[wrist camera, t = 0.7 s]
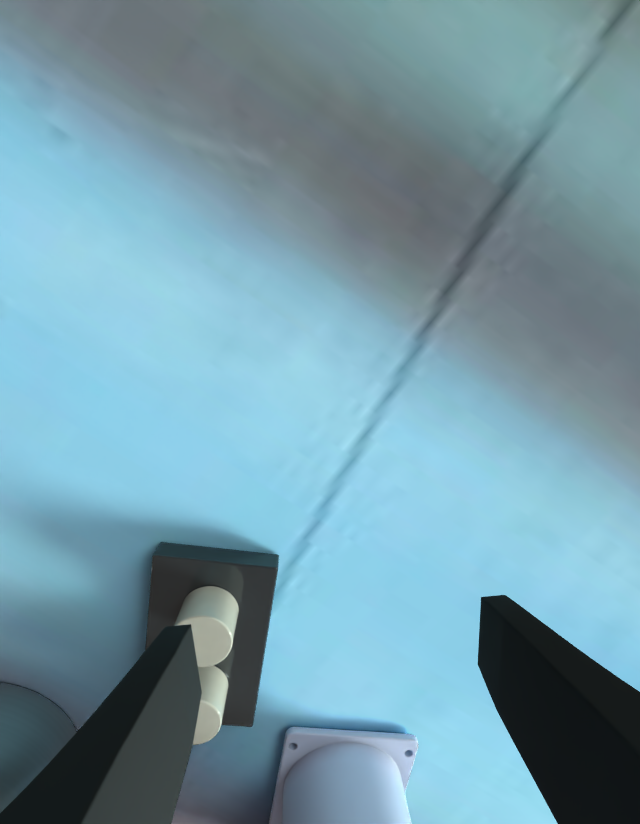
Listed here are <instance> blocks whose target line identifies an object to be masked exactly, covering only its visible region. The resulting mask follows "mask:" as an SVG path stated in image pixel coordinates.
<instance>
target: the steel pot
mask: <svg viewBox="0 0 640 824" xmlns="http://www.w3.org/2000/svg"><path fill="white" fill-rule="evenodd" d="M76 733H77V732H76V729H75V727H74V725H73V724H72V722H71V720H70V719H69V718H68V716H67V715H66V714H65V713H64V712H63V711H62V710H61V709H60V708H59V707H58V706H57V705H56V704H54V703H53V702H51V701H50V700H49V699H47V698H45V697H44V696H42V695H40V694H38V693H36V692H34V691H31V690H29V689H26V688H23V687H20V686H16V685H12V684H7V683H0V813H1V812H2V811H3V810H4V809H5V808H6V807H7V806H8V805H9V804H10V803H11V802H12V801H13V800H14V799H15V798H16V797H17V796H18V795H19V794H20V793H21V792H22V791H23V790H24V789H25V788H26V787H27V786H28V785H29V783H30V782H31V781H32V780H33V779H34V778H35V777H36V776H37V775H38V774H39V773H40V772H41V771H42V770H43V769H44V768H45V767H46V766H47V765H48V764H49V762H50V761H51V760H52V759H53V758H54V757H55V756H56V755H57V754H58V752H59V751H60V750H61V749H62V748H63V747H64V746H65V745H66V744H67V743H68V741H69V740H70V739H71V738H72V737H73V736H74V735H75V734H76Z"/></svg>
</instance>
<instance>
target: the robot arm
mask: <svg viewBox="0 0 640 824" xmlns="http://www.w3.org/2000/svg"><path fill="white" fill-rule="evenodd" d="M478 666H479V668H480V671H481V673H482V676H483V678H484V681H485V683H486V686H487V688H488V690H489V693H490V695H491V697H492V700H493V702H494V704H495V707H496V709H497V711H498V713H499V715H500V717H501V719H502V721H503V723H504V725H505V727H506V729H507V730H508V732H509V734H510V736H511V738H512V740H513V742H514V744H515V745H516V747H517V749H518V751H519V753H520V755H521V757H522V758H523V760H524V762H525V764H526V766H527V768H528V769H529V771H530V773H531V775H532V777H533V779H534V781H535V782H536V784H537V786H538V788H539V790H540V792H541V794H542V795H543V797H544V799H545V801H546V803H547V805H548V806H549V808H550V810H551V812H552V814H553V816H554V818H555V819H556V821H557V823H558V824H640V692H639V691H638V690H636V689H635V688H633V687H632V686H630V685H629V684H627V683H626V682H624V681H623V680H621V679H620V678H618V677H617V676H615V675H614V674H612V673H611V672H610V671H608V670H607V669H605V668H604V667H602V666H601V665H600V664H598V663H597V662H595V661H594V660H593V659H591V658H590V657H588V656H587V655H586V654H584V653H583V652H581V651H580V650H579V649H577V648H576V647H575V646H573V645H572V644H570V643H569V642H568V641H566V640H565V639H564V638H562V637H561V636H560V635H558V634H557V633H556V632H554V631H553V630H552V629H550V628H549V627H548V626H546V625H545V624H544V623H542V622H541V621H540V620H538V619H537V618H536V617H534V616H533V615H532V614H530V613H529V612H528V611H526V610H525V609H524V608H522V607H521V606H520V605H518V604H517V603H516V602H514V601H513V600H511V599H510V598H509V597H507V596H506V595H499V596H488V597H481V612H480V631H479V650H478ZM201 694H202V690H201V684H200V677H199V671H198V665H197V658H196V652H195V646H194V640H193V633H192V627H191V624H189V625H178V626H167V627H165V628H164V629H163V630H162V631H161V632H160V634H159V635H158V636H157V637H156V638H155V640H154V641H153V642H152V643H151V645H150V646H149V647H148V648H147V650H146V651H145V652H144V653H143V655H142V656H141V657H140V658H139V660H138V661H137V662H136V663H135V664H134V666H133V667H132V668H131V669H130V671H129V672H128V673H127V674H126V675H125V677H124V678H123V679H122V680H121V682H120V683H119V684H118V685H117V686H116V687H115V689H114V690H113V691H112V692H111V693H110V695H109V696H108V697H107V698H106V699H105V700H104V702H103V703H102V704H101V705H100V706H99V708H98V709H97V710H96V711H95V712H94V713H93V715H92V716H91V717H90V718H89V719H88V720H87V722H86V723H85V724H84V725H83V726H82V727H81V728H80V729H79V730H78V732H77V733H76V734H75V735H74V736H73V737H72V738H71V739H70V740H69V741H68V743H67V744H66V745H65V746H64V747H63V748H62V749H61V750H60V751H59V752H58V754H57V755H56V756H55V757H54V758H53V759H52V760H51V761H50V762H49V764H48V765H47V766H46V767H45V768H44V769H43V770H42V771H41V772H40V773H39V774H38V775H37V776H36V777H35V778H34V779H33V780H32V781H31V782H30V783H29V785H28V786H27V787H26V788H25V789H24V790H23V791H22V792H21V793H20V794H19V795H18V796H17V797H16V798H15V799H14V800H13V801H12V802H11V803H10V804H9V805H8V806H7V807H6V808H5V809H4V810H3V811H2V812H1V813H0V824H171V822H172V818H173V815H174V811H175V808H176V804H177V800H178V797H179V793H180V789H181V786H182V782H183V778H184V775H185V771H186V767H187V764H188V760H189V756H190V753H191V749H192V745H193V740H194V735H195V729H196V724H197V718H198V712H199V706H200V700H201ZM417 749H418V741H417V738H416V736H414V735H412V734H402V733H386V732H370V731H354V730H339V729H323V728H307V727H291V728H289V729H288V730H287V731H286V733H285V738H284V744H283V749H282V755H281V760H280V765H279V771H278V776H277V782H276V787H275V792H274V798H273V803H272V808H271V814H270V819H269V824H412V822H411V818H410V814H409V809H408V805H407V801H406V796H405V791H406V788H407V784H408V781H409V777H410V774H411V770H412V767H413V763H414V760H415V756H416V753H417Z"/></svg>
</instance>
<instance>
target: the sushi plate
mask: <svg viewBox="0 0 640 824" xmlns="http://www.w3.org/2000/svg"><path fill="white" fill-rule="evenodd" d="M278 563H279V555H277V554H268V553H259V552H250V551H240V550H231V549H222V548H213V547H203V546H194V545H185V544H176V543H166V542H161V543H160V544H159V546H158V548H157V549H156V551H155V552H154V554H153V556H152V569H151V582H150V595H149V608H148V621H147V634H146V648H145V651H146V650H147V648H148V647H149V646H150V645H151V643H152V642H153V641H154V640H155V638H156V637H157V636H158V635H159V634H160V632H161V631H162V630H163V629H164V628H165V627H167V626H178V625H189V624H191V627H192V633H193V640H194V646H195V652H196V658H197V665H198V671H199V677H200V684H201V690H202V694H201V700H200V706H199V712H198V718H197V724H196V729H195V735H194V740H193V745H198V744H202V743H205V742H207V741H209V740H211V739H212V738H213V737H215V736H216V734H217V733H218V732H219V730H220V728H221V725H229V726H245V727H252V726H253V722H254V716H255V710H256V703H257V697H258V691H259V685H260V678H261V672H262V666H263V660H264V654H265V647H266V641H267V635H268V629H269V622H270V616H271V610H272V604H273V597H274V591H275V585H276V579H277V572H278Z"/></svg>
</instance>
